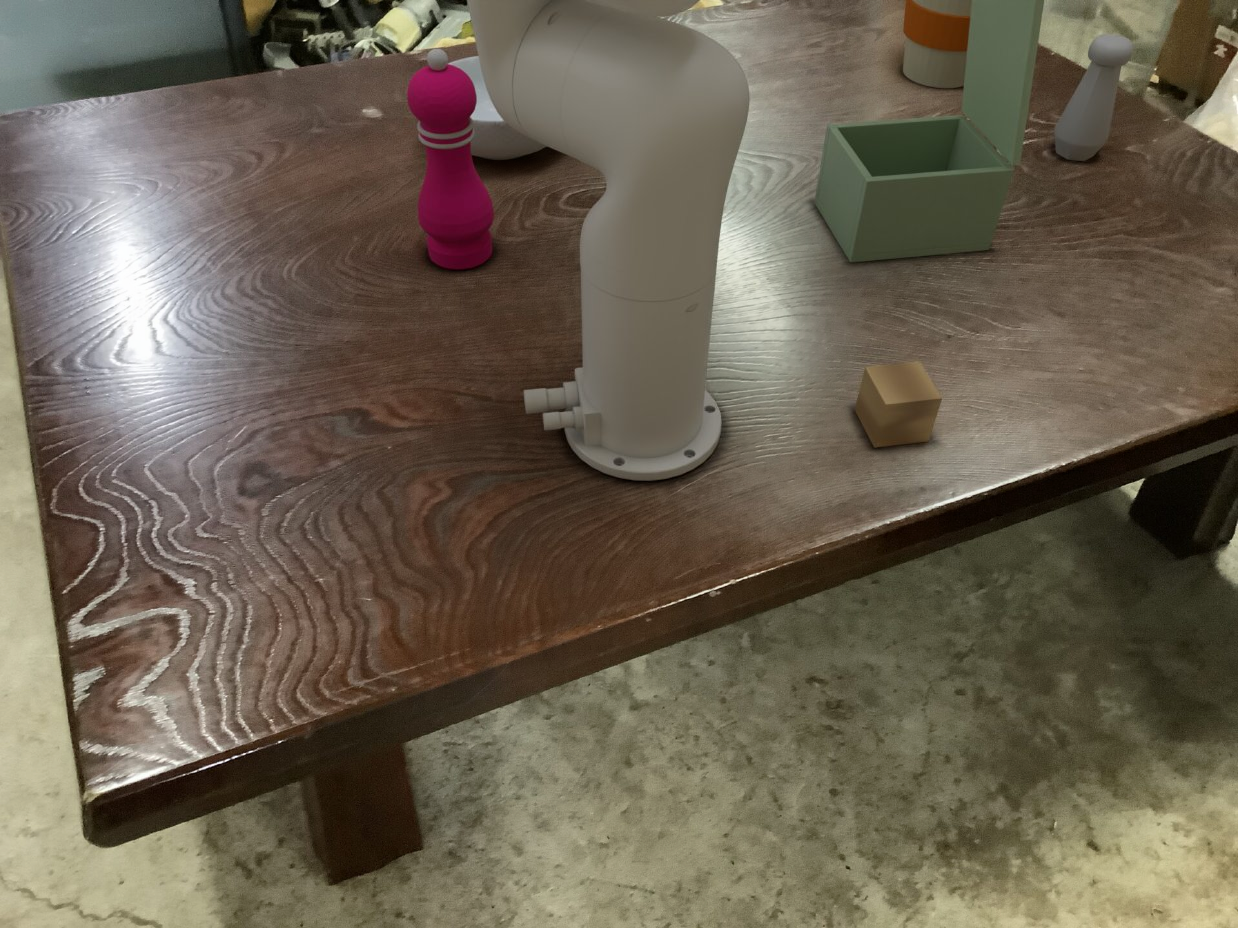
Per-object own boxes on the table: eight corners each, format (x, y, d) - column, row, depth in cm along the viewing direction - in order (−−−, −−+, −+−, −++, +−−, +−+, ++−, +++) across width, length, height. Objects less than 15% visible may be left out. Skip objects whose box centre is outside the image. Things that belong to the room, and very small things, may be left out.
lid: (1036, -3, 81) (1045, -5, 81) (976, -49, 89) (984, -51, 89) (1012, 166, 92) (1020, 164, 92) (961, 111, 100) (968, 109, 100)
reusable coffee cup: (950, 103, 122) (983, -24, 111) (869, 71, 128) (893, -52, 118) (1005, 75, 128) (1042, -48, 117) (925, 46, 135) (953, -73, 124)
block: (873, 448, 78) (885, 404, 74) (854, 409, 81) (864, 366, 78) (928, 441, 78) (942, 398, 75) (907, 404, 82) (919, 360, 78)
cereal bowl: (408, 172, 108) (398, 110, 103) (452, 106, 120) (446, 48, 115) (557, 187, 106) (555, 125, 101) (588, 119, 118) (587, 60, 113)
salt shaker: (1103, 167, 111) (1148, 52, 101) (1050, 162, 111) (1090, 47, 102) (1096, 143, 115) (1138, 30, 106) (1045, 138, 116) (1083, 26, 106)
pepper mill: (444, 281, 93) (415, 74, 79) (411, 246, 98) (379, 44, 84) (510, 258, 96) (494, 55, 82) (476, 225, 101) (455, 26, 86)
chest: (850, 263, 96) (867, 181, 90) (813, 203, 104) (827, 124, 98) (989, 250, 98) (1015, 169, 92) (942, 192, 106) (963, 114, 100)
